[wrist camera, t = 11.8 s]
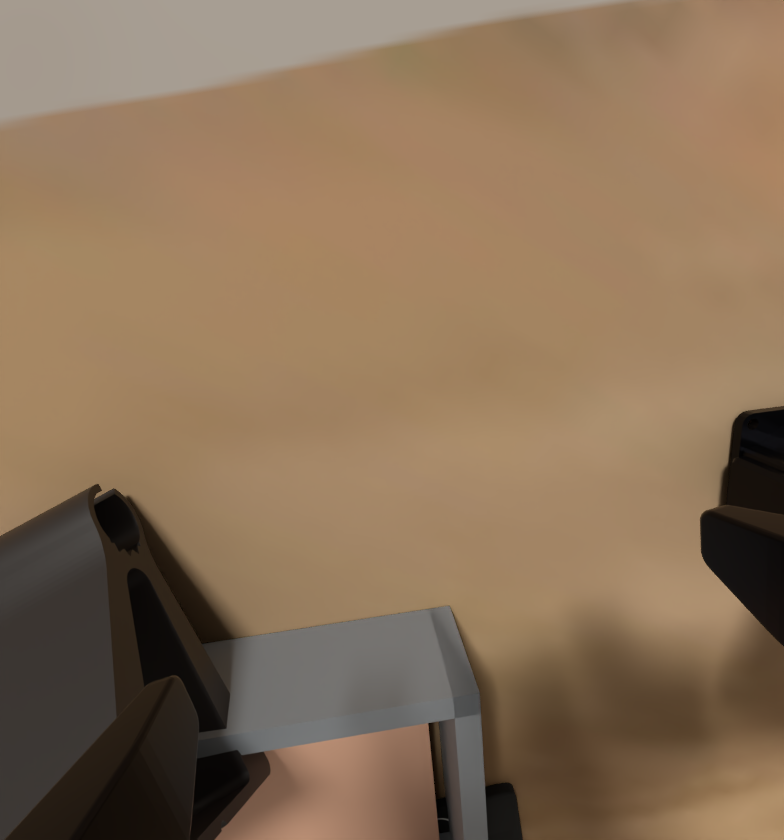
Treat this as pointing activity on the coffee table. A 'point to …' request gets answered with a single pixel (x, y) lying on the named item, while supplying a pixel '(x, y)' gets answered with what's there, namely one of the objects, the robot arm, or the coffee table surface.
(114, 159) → the coffee table surface
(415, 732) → the flap
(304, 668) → the flap frame
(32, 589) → the phone stand
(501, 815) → the cell phone
